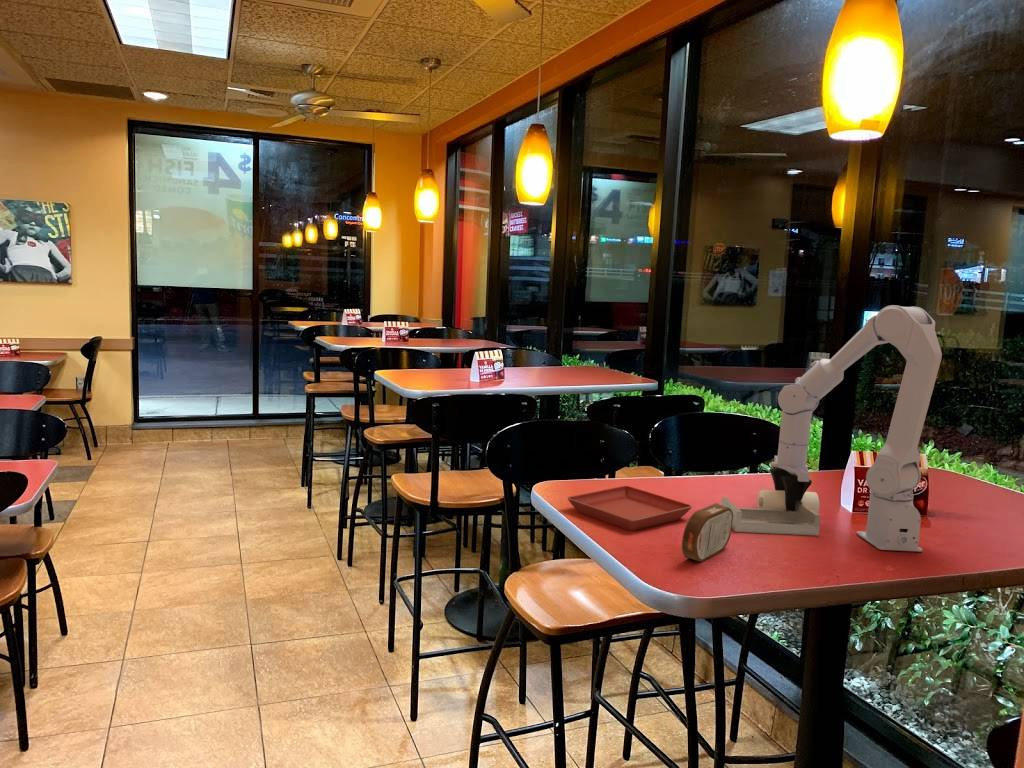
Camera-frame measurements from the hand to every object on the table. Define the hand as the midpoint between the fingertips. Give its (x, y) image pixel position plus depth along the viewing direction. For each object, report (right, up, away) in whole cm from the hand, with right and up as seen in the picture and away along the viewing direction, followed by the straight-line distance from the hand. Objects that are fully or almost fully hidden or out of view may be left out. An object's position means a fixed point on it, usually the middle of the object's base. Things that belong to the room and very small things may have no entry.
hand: (786, 506), depth 159 cm
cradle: (-7, -2, -9) cm, 11 cm away
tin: (-24, -4, -28) cm, 37 cm away
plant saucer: (-34, -1, -6) cm, 34 cm away
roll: (0, -2, 0) cm, 2 cm away
